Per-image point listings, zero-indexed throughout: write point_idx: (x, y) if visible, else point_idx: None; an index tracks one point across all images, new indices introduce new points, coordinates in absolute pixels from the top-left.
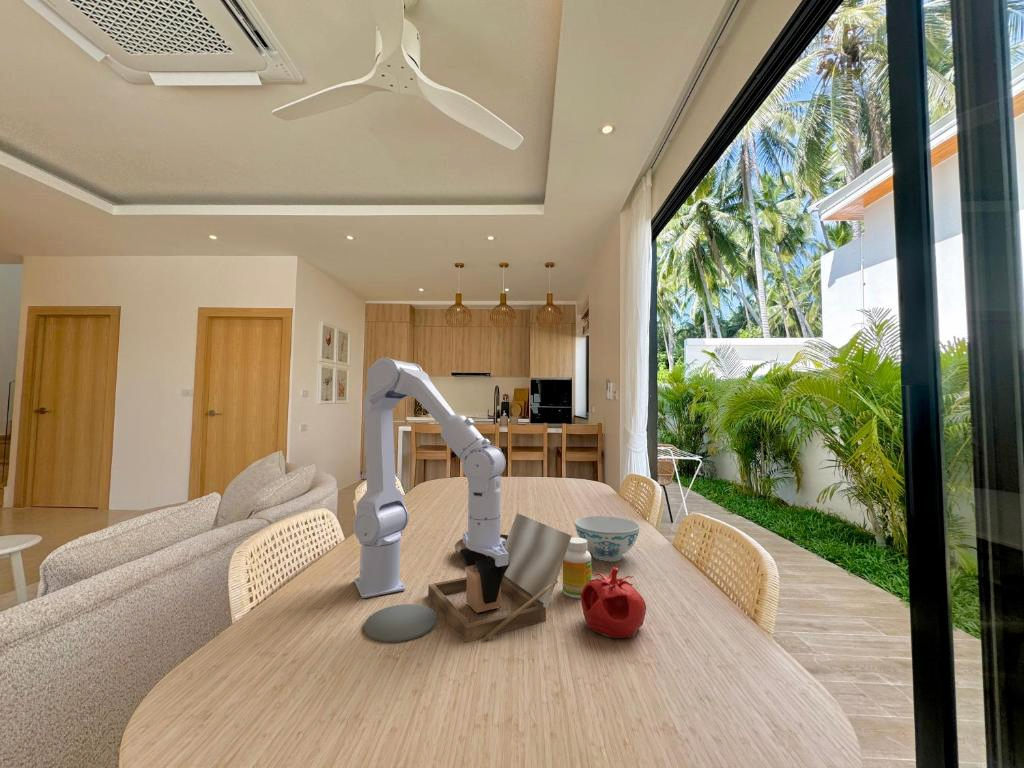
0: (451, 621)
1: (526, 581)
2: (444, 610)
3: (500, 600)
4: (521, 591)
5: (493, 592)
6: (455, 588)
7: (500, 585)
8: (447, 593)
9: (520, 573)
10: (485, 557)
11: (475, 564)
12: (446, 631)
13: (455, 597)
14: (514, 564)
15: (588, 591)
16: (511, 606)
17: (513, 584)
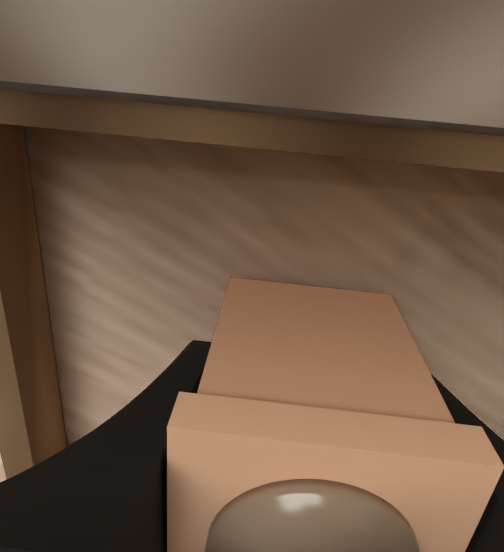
0: None
1: (502, 91)
2: None
3: (398, 314)
4: (435, 135)
5: None
6: (44, 381)
7: (431, 379)
8: (59, 405)
9: (345, 57)
10: (144, 528)
11: (162, 550)
12: None
13: (114, 391)
14: (141, 10)
15: None
16: (396, 210)
17: (281, 115)
